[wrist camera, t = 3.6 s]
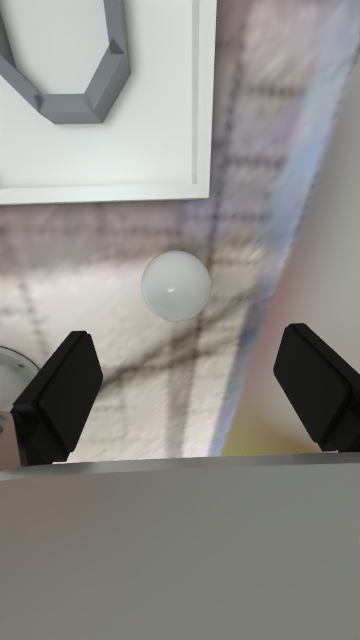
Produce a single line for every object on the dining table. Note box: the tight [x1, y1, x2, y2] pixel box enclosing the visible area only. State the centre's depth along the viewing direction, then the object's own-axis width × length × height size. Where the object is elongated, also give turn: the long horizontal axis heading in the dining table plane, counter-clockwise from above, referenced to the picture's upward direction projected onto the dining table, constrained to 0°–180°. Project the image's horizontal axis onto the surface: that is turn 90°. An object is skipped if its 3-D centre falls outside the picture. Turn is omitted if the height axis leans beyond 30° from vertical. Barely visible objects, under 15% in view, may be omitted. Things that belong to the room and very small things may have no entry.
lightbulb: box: [141, 251, 211, 322], centre depth 20 cm, size 6×6×11 cm
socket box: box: [0, 0, 217, 206], centre depth 13 cm, size 22×22×6 cm
